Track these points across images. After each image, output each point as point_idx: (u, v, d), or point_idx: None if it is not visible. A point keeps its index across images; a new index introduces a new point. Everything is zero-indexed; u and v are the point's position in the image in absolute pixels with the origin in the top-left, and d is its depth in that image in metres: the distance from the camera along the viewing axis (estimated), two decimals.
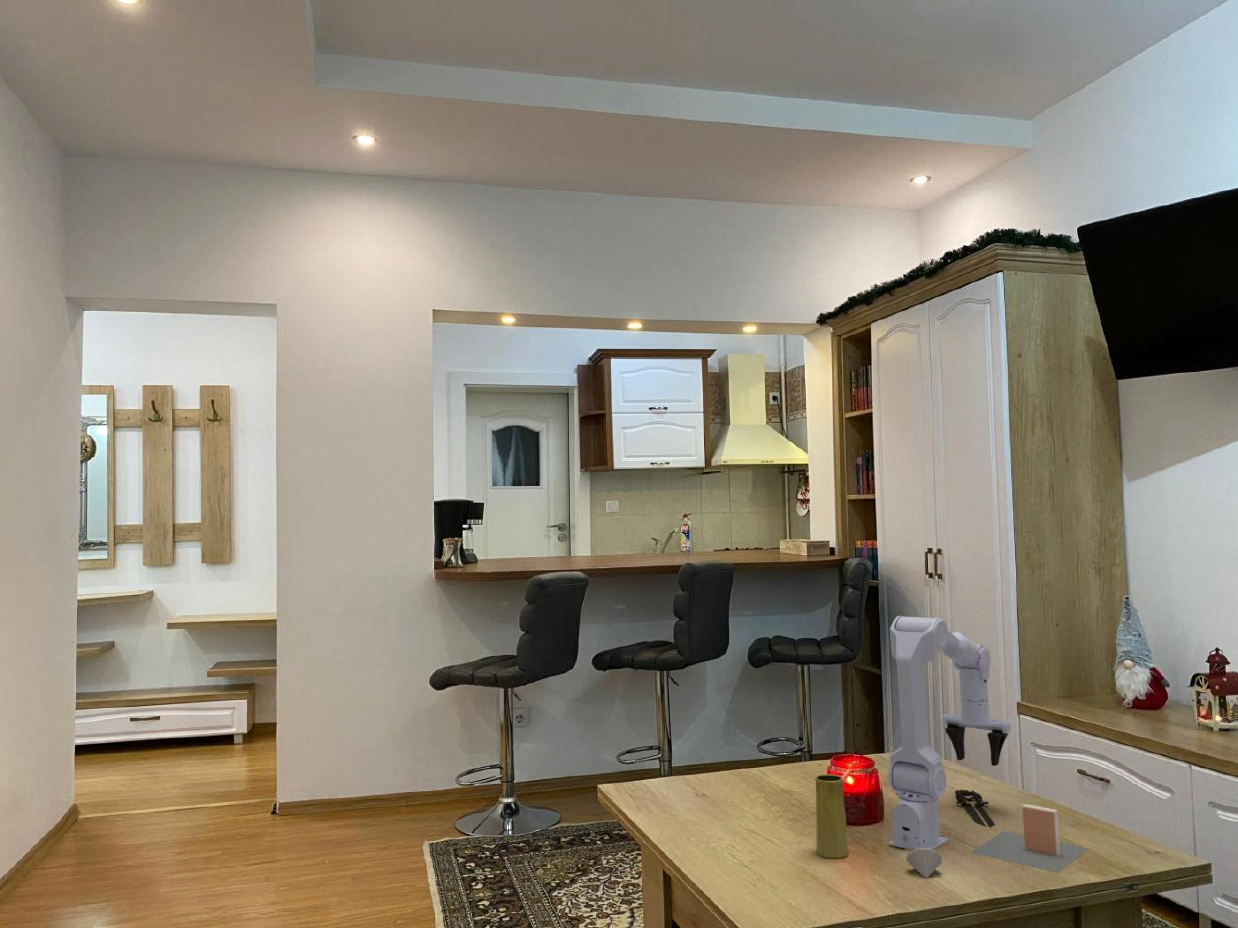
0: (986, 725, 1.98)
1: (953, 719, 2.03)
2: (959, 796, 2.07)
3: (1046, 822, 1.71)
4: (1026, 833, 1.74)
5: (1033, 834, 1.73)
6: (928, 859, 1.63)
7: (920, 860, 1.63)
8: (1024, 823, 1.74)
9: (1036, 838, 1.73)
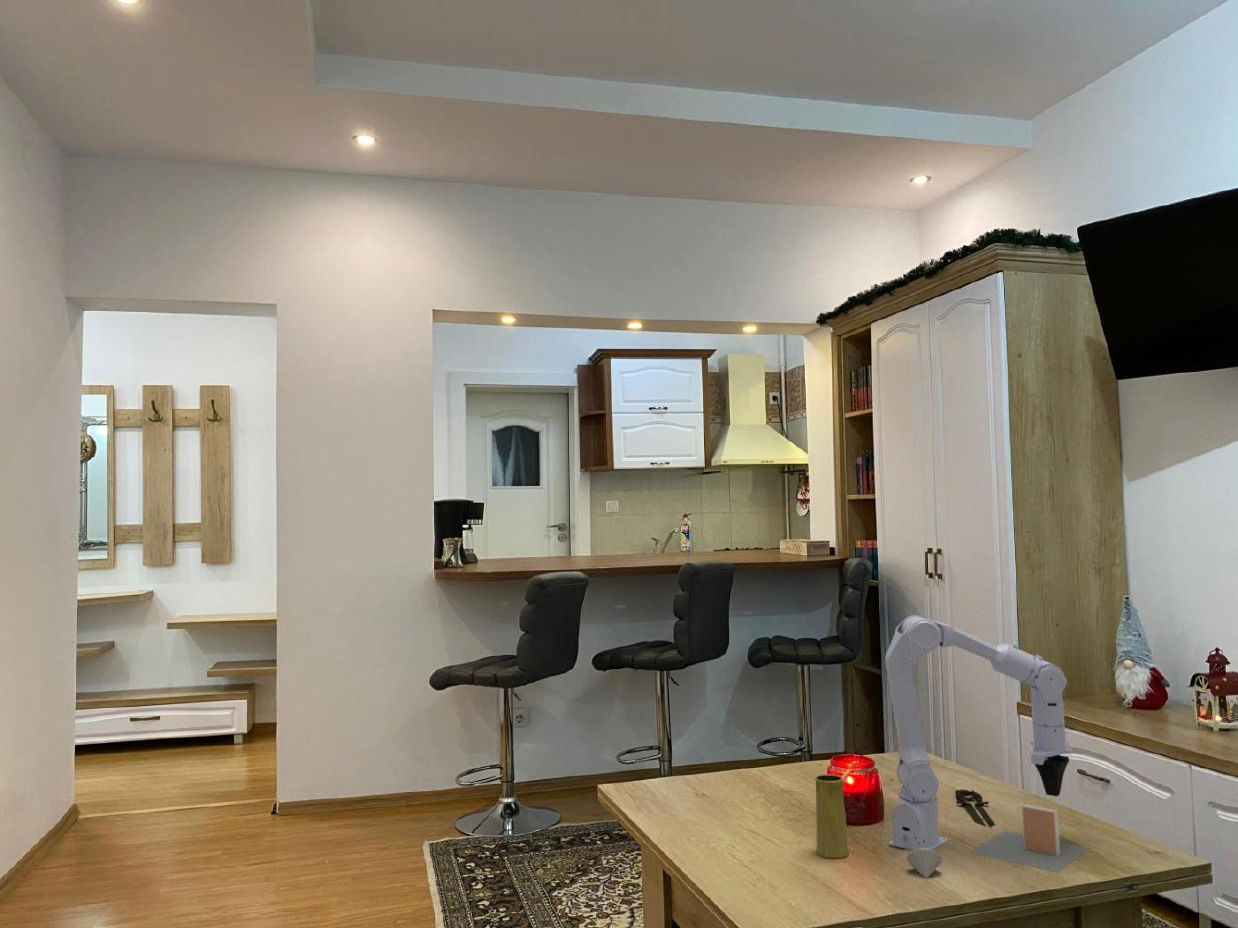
0: None
1: None
2: (959, 796, 2.07)
3: (1046, 822, 1.71)
4: (1026, 833, 1.74)
5: (1033, 834, 1.73)
6: (928, 859, 1.63)
7: (920, 860, 1.63)
8: (1024, 823, 1.74)
9: (1036, 838, 1.73)
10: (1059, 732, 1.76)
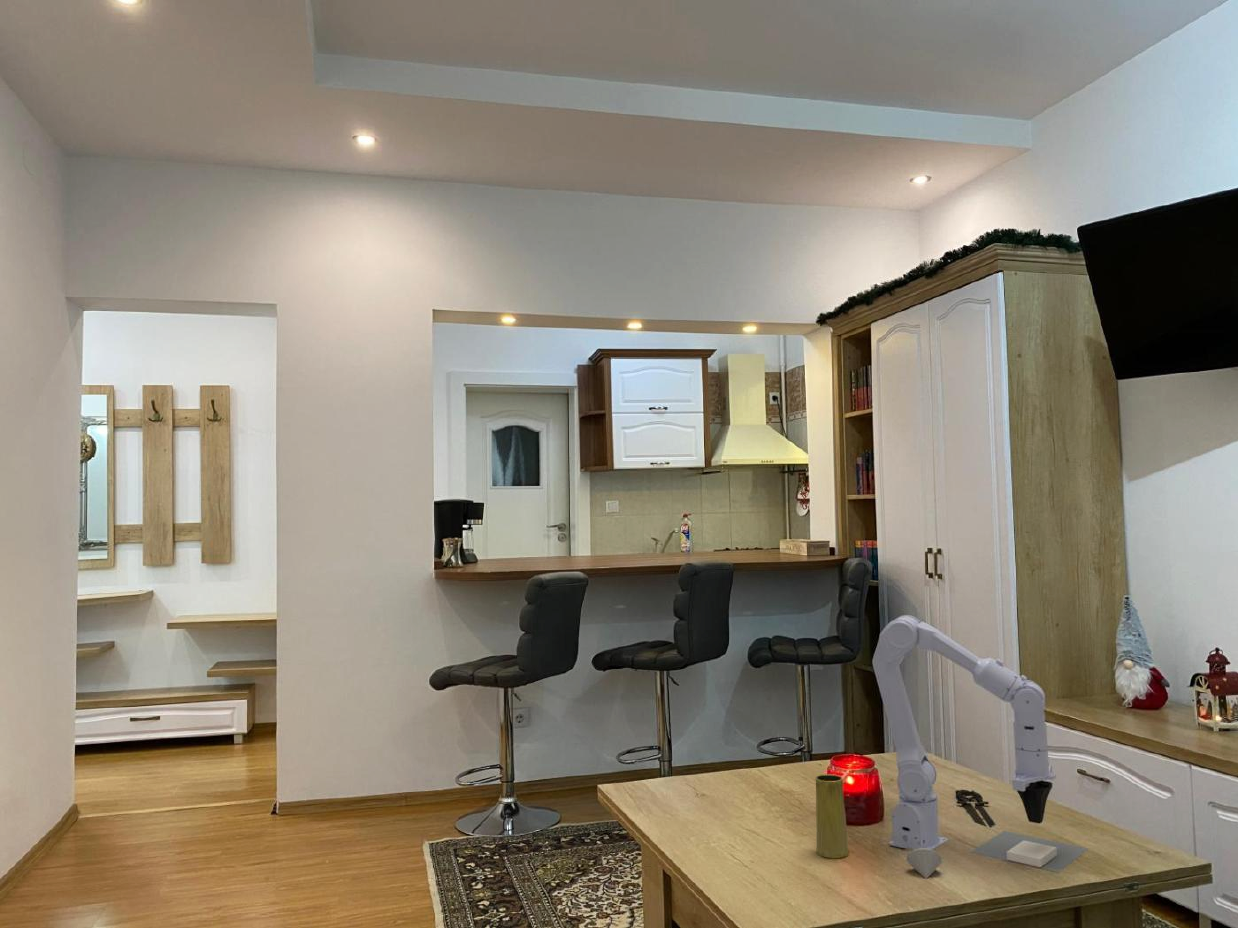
0: None
1: None
2: (959, 796, 2.07)
3: None
4: None
5: None
6: (928, 859, 1.63)
7: (920, 860, 1.63)
8: None
9: None
10: (1042, 756, 1.70)
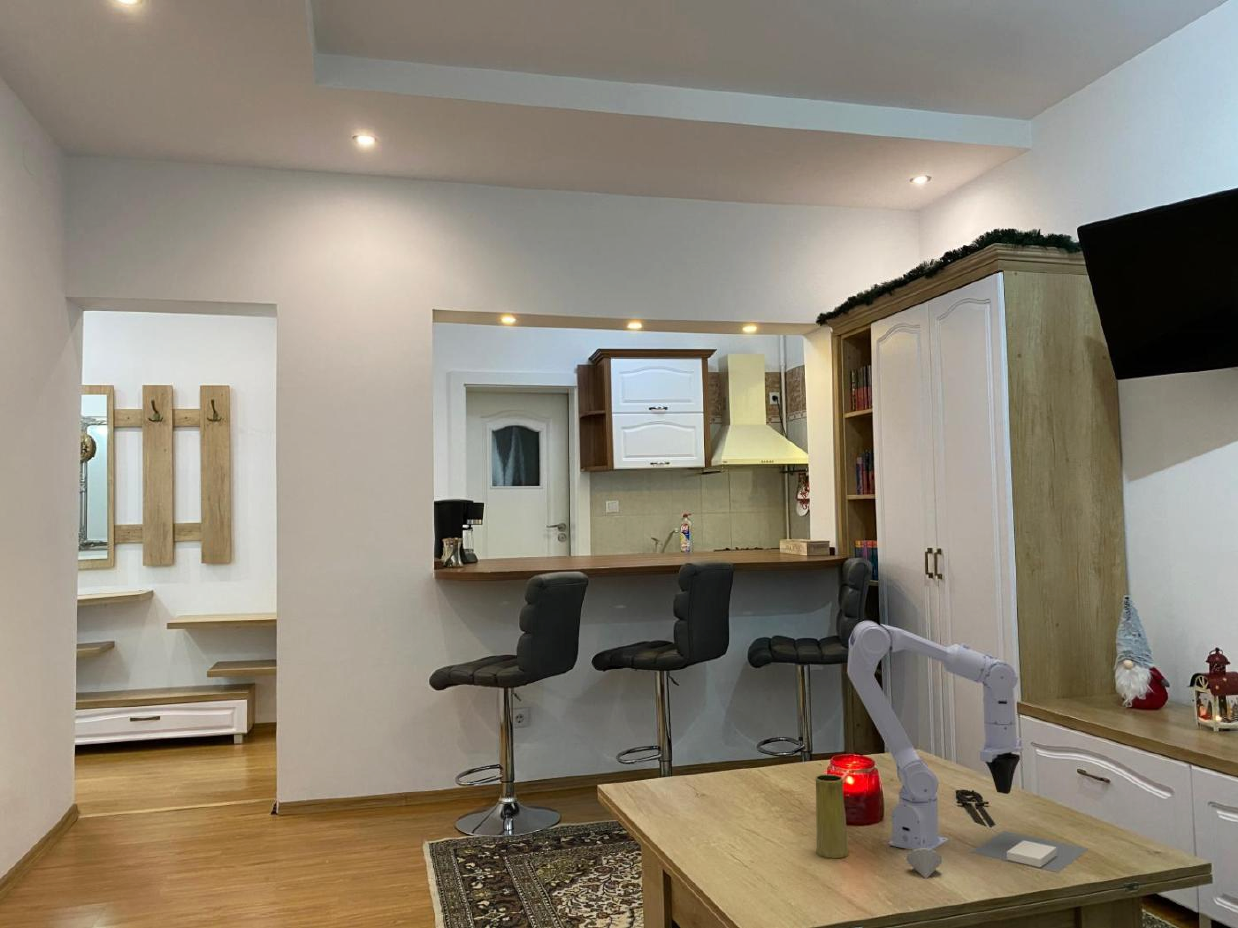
0: None
1: None
2: (959, 796, 2.07)
3: None
4: None
5: None
6: (928, 859, 1.63)
7: (920, 860, 1.63)
8: None
9: None
10: (1009, 730, 1.77)
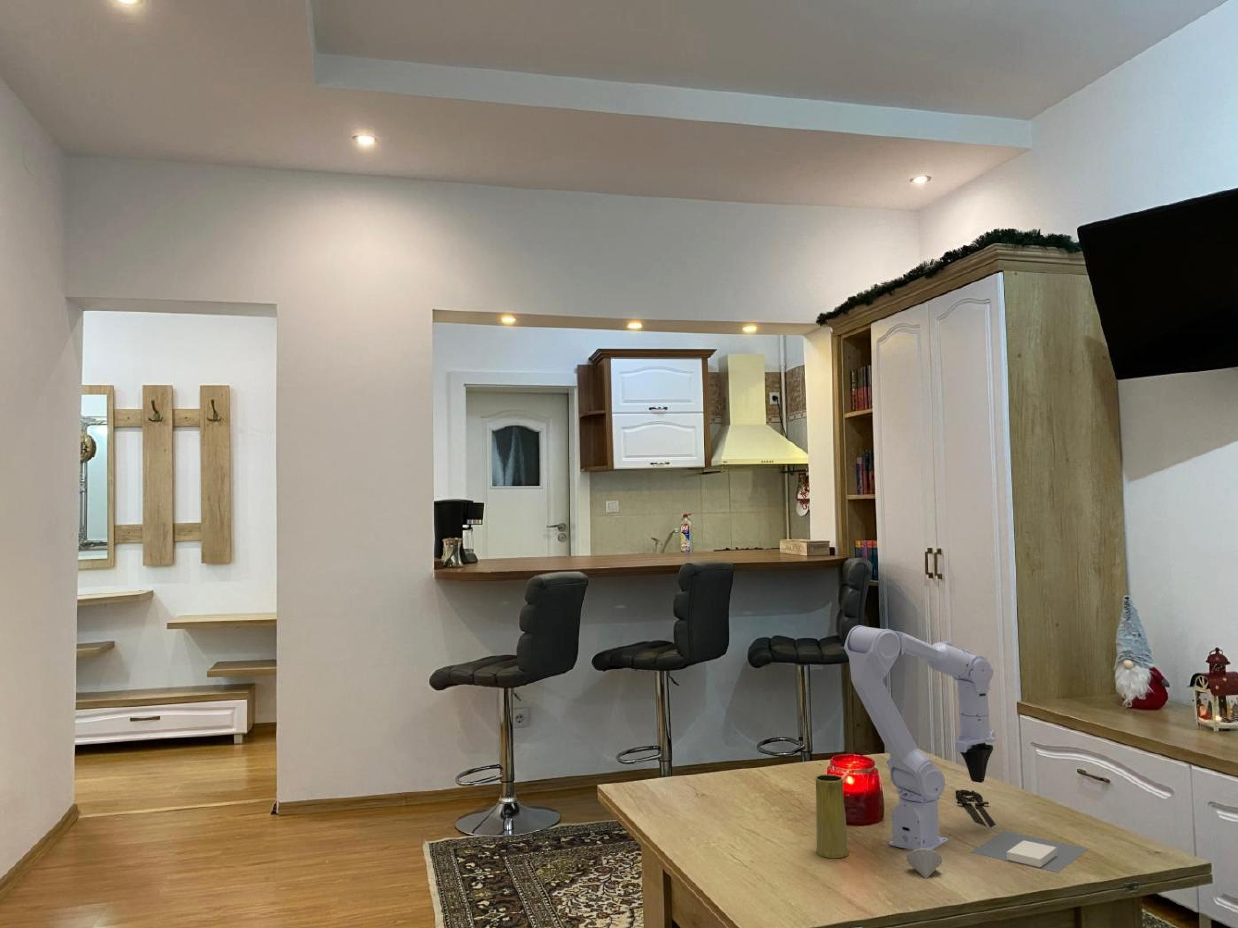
0: None
1: None
2: (959, 796, 2.07)
3: None
4: None
5: None
6: (928, 859, 1.63)
7: (920, 860, 1.63)
8: None
9: None
10: (983, 721, 1.85)
